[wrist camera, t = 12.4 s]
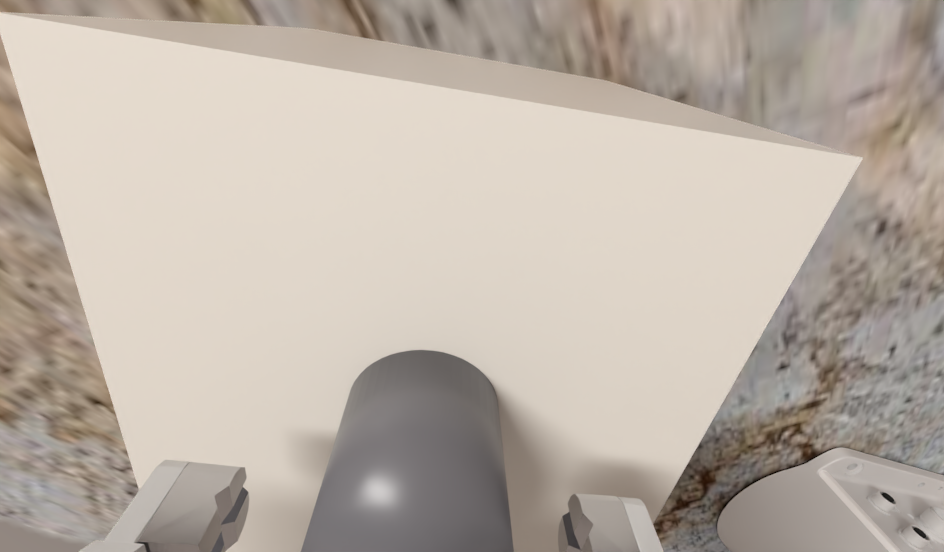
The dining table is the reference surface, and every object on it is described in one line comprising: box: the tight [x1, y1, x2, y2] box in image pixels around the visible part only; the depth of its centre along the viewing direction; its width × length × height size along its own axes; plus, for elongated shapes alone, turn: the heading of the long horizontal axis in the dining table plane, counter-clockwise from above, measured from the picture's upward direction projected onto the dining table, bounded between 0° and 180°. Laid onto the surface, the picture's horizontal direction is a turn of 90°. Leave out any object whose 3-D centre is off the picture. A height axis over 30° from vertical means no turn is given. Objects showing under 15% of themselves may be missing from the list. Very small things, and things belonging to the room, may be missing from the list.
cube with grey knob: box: [0, 12, 863, 552], centre depth 18 cm, size 16×16×22 cm
